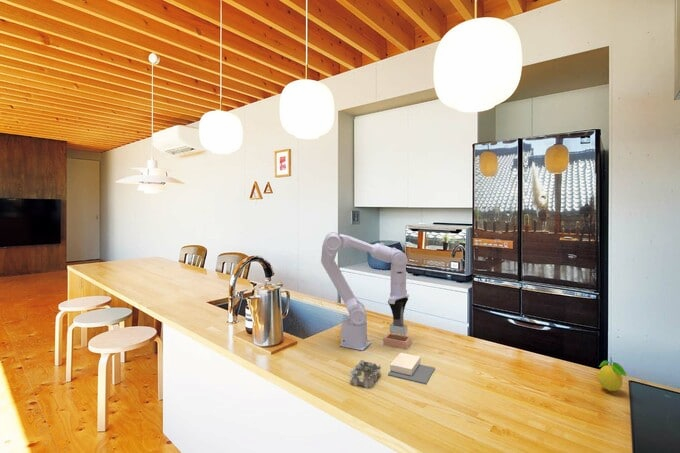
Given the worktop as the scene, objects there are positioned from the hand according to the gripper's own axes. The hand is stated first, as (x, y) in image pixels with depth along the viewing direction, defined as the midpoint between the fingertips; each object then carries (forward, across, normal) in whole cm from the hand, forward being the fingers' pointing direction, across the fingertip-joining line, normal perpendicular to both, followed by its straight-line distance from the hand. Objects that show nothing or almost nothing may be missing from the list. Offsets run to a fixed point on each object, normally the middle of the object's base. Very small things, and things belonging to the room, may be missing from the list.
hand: (398, 317), depth 133 cm
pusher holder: (+10, 0, 0) cm, 10 cm away
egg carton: (+11, -29, 0) cm, 31 cm away
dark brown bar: (+6, 0, 0) cm, 6 cm away
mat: (+10, -19, -11) cm, 24 cm away
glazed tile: (+9, -12, -9) cm, 17 cm away
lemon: (+11, -4, -64) cm, 65 cm away
